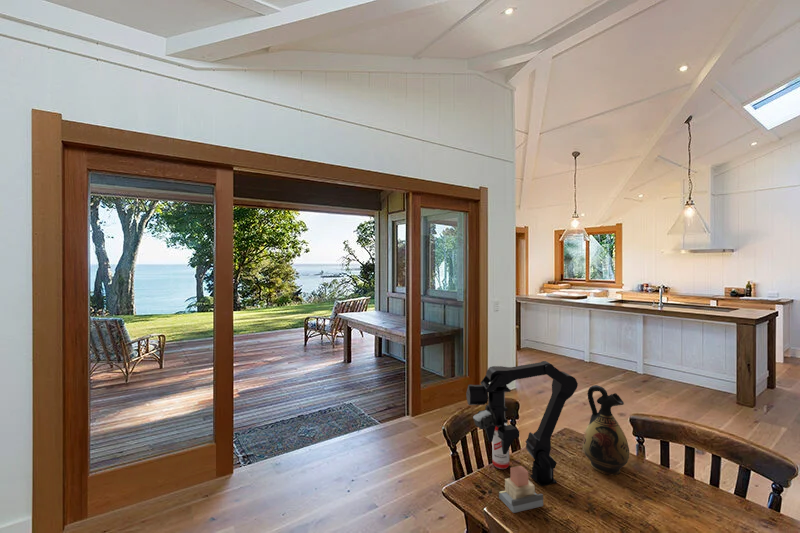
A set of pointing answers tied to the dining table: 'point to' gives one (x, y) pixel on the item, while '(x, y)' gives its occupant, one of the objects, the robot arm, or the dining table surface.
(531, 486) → the beige slotted block
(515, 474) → the block
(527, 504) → the dock
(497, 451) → the beer can
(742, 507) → the dining table surface
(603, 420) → the ceramic jug
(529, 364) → the robot arm
